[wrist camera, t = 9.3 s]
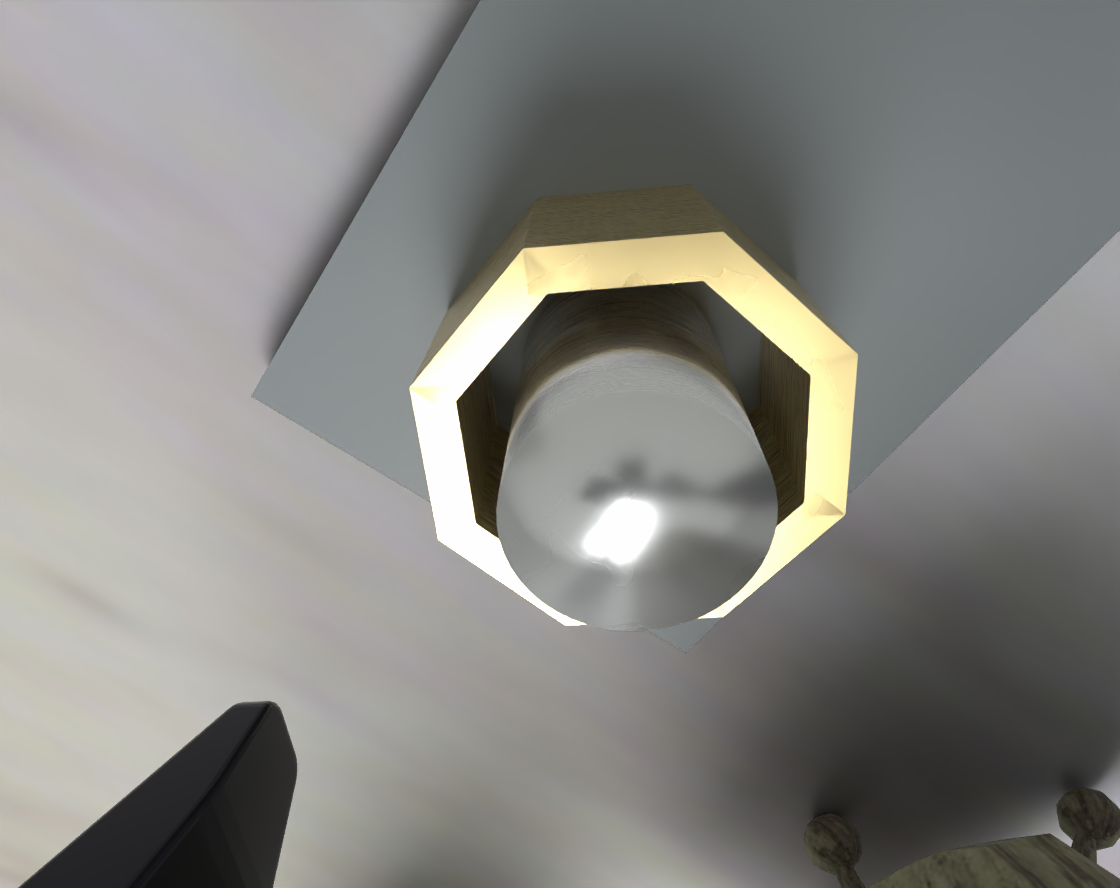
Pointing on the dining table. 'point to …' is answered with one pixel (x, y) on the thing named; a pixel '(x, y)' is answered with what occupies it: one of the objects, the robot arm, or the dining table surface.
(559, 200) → the brass ring
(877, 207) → the fit board
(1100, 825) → the tabletop clock
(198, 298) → the dining table surface
